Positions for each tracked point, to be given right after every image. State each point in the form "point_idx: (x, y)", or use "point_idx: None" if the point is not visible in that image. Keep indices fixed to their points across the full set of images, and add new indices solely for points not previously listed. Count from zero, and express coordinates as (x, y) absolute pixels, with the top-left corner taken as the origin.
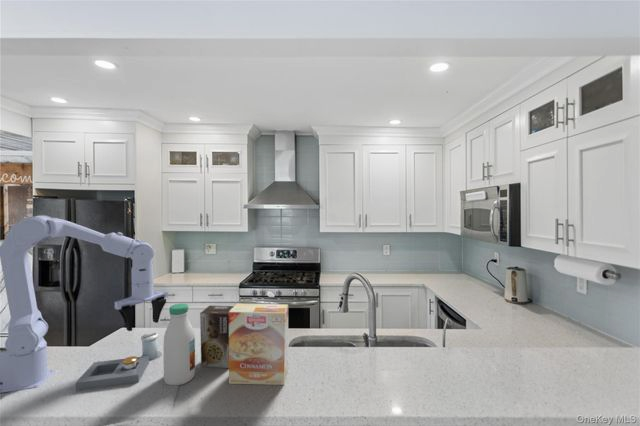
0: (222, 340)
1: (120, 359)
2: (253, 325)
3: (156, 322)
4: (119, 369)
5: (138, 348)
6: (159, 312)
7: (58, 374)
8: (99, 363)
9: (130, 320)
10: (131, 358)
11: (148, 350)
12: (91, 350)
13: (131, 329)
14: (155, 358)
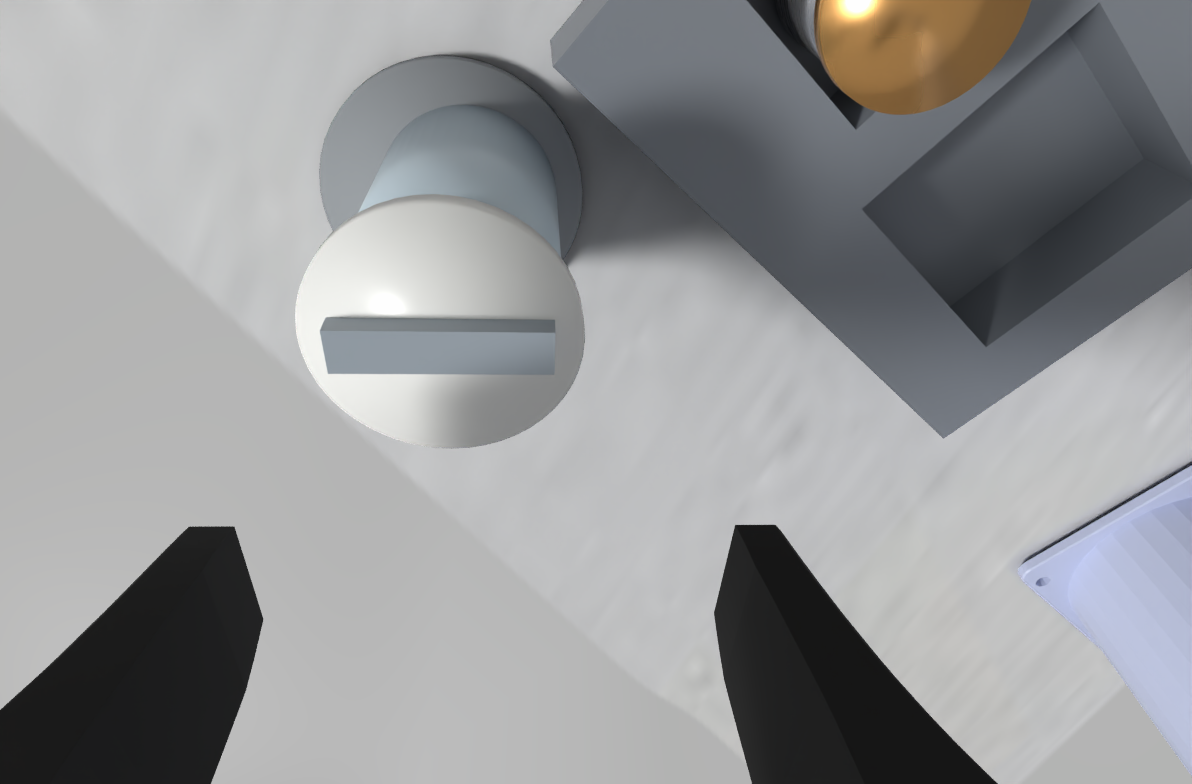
0: None
1: (801, 289)
2: None
3: (224, 532)
4: None
5: (457, 475)
6: (27, 731)
7: (1033, 521)
8: (948, 376)
9: (877, 719)
10: (891, 19)
11: (518, 170)
12: (706, 672)
13: (756, 541)
14: (445, 80)
